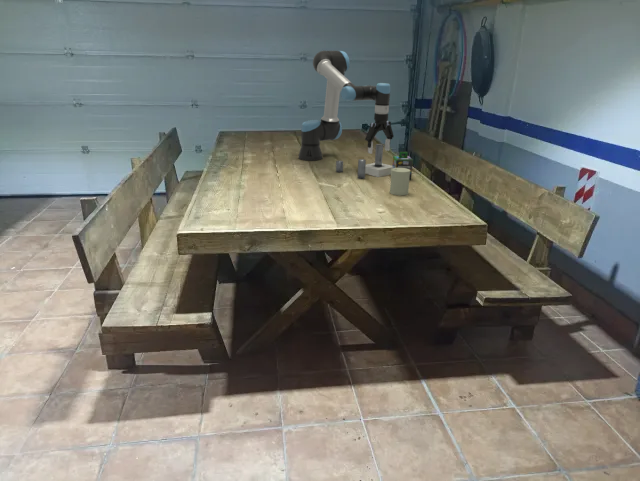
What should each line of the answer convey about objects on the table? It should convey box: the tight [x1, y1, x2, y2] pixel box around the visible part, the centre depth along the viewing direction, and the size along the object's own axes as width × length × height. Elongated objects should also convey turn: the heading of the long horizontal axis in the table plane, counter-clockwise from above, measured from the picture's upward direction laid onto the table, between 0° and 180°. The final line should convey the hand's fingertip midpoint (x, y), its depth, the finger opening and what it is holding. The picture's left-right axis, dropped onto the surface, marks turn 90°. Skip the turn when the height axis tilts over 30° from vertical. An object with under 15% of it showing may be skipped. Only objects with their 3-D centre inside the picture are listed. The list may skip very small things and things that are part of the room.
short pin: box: [335, 160, 344, 174], centre depth 276 cm, size 4×4×6 cm
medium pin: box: [357, 158, 367, 180], centre depth 263 cm, size 4×4×10 cm
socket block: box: [365, 162, 393, 178], centre depth 276 cm, size 14×14×4 cm
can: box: [389, 168, 410, 196], centre depth 237 cm, size 9×9×12 cm
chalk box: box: [392, 151, 414, 181], centre depth 263 cm, size 9×9×15 cm
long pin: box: [374, 143, 384, 168], centre depth 273 cm, size 4×4×16 cm
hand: (378, 151), depth 272 cm, fingers open, 13 cm apart
